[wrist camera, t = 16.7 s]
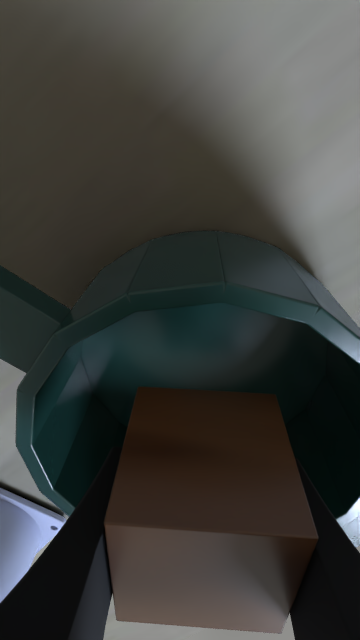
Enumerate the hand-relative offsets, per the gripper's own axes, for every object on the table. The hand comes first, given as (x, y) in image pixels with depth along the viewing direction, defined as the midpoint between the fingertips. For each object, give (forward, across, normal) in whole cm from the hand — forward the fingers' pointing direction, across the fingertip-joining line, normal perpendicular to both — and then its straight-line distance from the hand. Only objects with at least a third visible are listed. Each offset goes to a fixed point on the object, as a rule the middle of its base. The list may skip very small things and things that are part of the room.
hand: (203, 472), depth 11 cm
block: (+1, 0, 0) cm, 1 cm away
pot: (+6, 0, 0) cm, 6 cm away
